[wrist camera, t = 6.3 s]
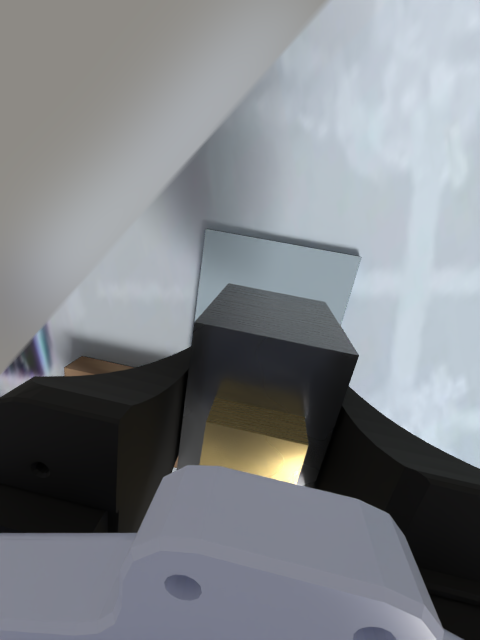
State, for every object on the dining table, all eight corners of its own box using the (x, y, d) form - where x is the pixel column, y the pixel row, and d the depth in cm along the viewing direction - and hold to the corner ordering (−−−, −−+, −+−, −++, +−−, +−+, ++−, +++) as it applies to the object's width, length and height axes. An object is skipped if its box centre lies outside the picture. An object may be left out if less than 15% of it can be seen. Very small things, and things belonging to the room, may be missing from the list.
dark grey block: (207, 420, 14) (158, 553, 8) (228, 283, 12) (181, 337, 6) (287, 438, 14) (293, 589, 8) (325, 301, 11) (372, 376, 6)
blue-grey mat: (190, 362, 22) (189, 365, 21) (207, 228, 19) (205, 228, 18) (319, 390, 21) (320, 393, 21) (359, 256, 18) (361, 257, 17)
